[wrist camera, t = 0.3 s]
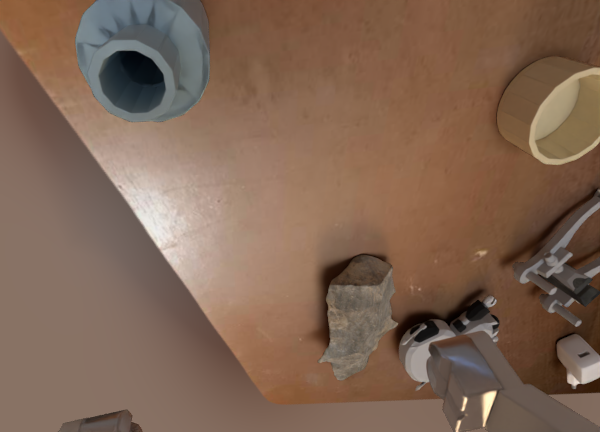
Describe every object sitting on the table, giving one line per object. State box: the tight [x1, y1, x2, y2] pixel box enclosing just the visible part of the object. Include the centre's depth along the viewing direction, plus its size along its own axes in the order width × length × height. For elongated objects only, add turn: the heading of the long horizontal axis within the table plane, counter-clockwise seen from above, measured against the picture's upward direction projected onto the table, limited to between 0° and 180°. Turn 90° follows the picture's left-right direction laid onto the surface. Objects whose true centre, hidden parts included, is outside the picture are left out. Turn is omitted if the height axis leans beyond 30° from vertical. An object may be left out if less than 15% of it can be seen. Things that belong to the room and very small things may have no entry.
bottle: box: [75, 0, 210, 122], centre depth 22 cm, size 6×6×17 cm
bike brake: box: [513, 189, 600, 326], centre depth 50 cm, size 14×7×20 cm
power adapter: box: [557, 334, 600, 389], centre depth 66 cm, size 11×5×6 cm, turn 24°
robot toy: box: [399, 295, 499, 390], centre depth 56 cm, size 12×4×15 cm
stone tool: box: [318, 255, 398, 380], centre depth 50 cm, size 12×6×20 cm
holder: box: [497, 56, 600, 165], centre depth 38 cm, size 9×9×5 cm
